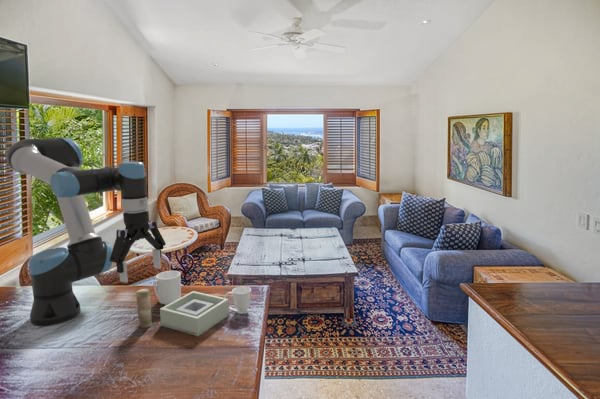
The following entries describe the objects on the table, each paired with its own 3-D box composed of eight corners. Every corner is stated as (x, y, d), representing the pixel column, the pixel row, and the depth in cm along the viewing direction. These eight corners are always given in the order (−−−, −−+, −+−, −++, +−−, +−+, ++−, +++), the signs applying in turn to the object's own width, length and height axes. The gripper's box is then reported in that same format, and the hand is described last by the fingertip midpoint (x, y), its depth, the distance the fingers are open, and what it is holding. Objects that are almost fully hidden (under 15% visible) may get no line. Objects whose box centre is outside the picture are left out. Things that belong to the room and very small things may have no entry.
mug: (172, 293, 157) (170, 269, 155) (187, 299, 152) (185, 273, 150) (148, 303, 148) (145, 277, 147) (162, 309, 143) (160, 282, 141)
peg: (136, 326, 131) (133, 292, 129) (146, 321, 135) (143, 288, 133) (145, 329, 130) (142, 294, 127) (154, 323, 133) (151, 290, 131)
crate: (161, 325, 132) (159, 308, 131) (194, 306, 146) (193, 291, 145) (198, 336, 125) (197, 318, 124) (229, 315, 139) (228, 298, 138)
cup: (250, 315, 138) (249, 294, 136) (222, 315, 139) (221, 293, 137) (254, 306, 145) (253, 286, 143) (227, 306, 145) (226, 285, 144)
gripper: (109, 220, 113) (116, 290, 116) (173, 204, 135) (177, 264, 138) (92, 217, 116) (99, 286, 120) (157, 203, 138) (162, 261, 142)
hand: (141, 274), depth 129 cm, fingers open, 13 cm apart
